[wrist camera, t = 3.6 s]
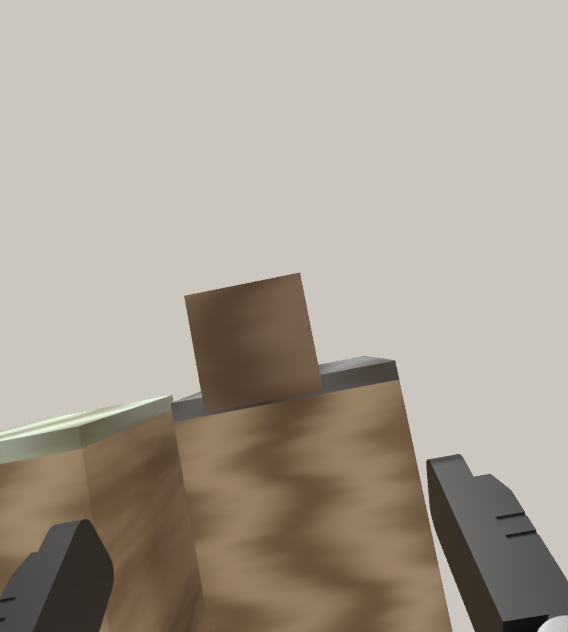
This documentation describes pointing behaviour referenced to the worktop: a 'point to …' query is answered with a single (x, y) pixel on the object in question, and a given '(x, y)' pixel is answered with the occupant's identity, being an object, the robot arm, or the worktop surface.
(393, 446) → the tower
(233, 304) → the walnut bar
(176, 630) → the tower
